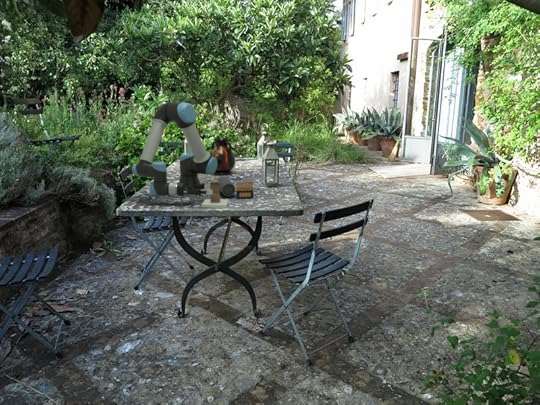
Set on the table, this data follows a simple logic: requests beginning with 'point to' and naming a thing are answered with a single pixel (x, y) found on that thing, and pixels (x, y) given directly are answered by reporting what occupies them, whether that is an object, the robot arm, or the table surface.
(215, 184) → the walnut block
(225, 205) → the plate
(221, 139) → the amphora vase
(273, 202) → the table surface
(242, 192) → the ammunition clip
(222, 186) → the bluetooth speaker
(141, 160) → the robot arm
